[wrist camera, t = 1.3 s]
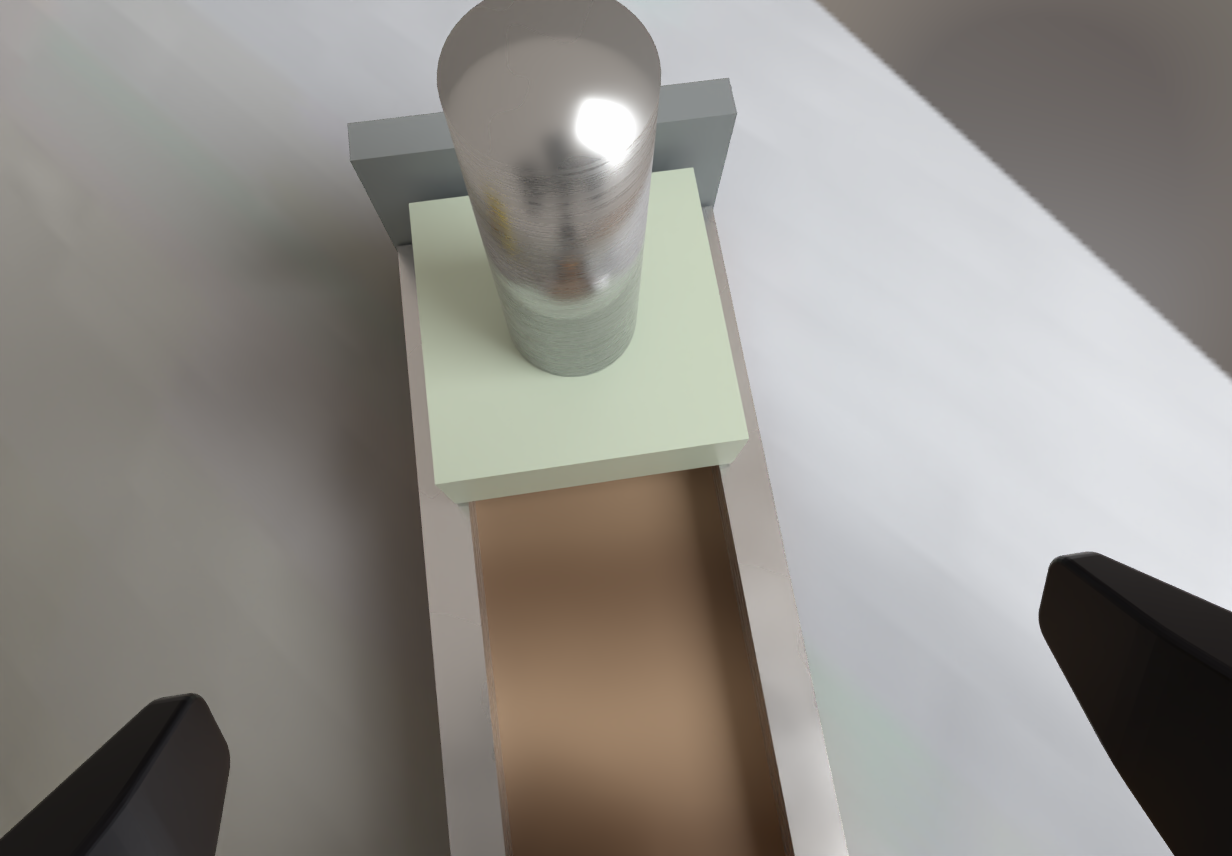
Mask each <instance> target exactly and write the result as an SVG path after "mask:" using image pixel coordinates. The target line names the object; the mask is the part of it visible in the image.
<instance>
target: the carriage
mask: <svg viewBox="0 0 1232 856" xmlns="http://www.w3.org/2000/svg"><path fill="white" fill-rule="evenodd" d="M660 86H661V67H660V60H659V56H658V52H657V49H656V46H655V44H654V42H653V40H652V38H651V36H650V34H649V33H648V31H647V29H646V28H645V26H644V25H643V24H642V23H641V22H640V20H639V19H638V18H637V17H636V16H635V15H634V14H633V13H632V12H631V11H630V10H628V9H627V8H626V7H625V6H623V5H622V4H620V3H619V2H618V1H616V0H484V1H482V2H481V3H479V4H478V5H476V6H475V7H474V8H472V9H471V10H470V11H469V12H468V13H467V14H466V15H464V16H463V17H462V18H461V20H460V21H459V22H458V23H457V24H456V25H455V27H454V28H453V30H452V31H451V33H450V34H449V36H448V37H447V39H446V41H445V44H444V46H443V48H442V51H441V54H440V58H439V61H438V69H437V87H438V92H439V98H440V101H441V105H442V108H443V111H444V115H445V118H446V121H447V125H448V128H449V131H450V135H451V138H452V142H453V145H454V148H455V152H456V155H457V158H458V162H459V165H460V168H461V172H462V175H463V178H464V182H465V185H466V189H467V192H468V195H469V196H462V197H454V198H446V199H438V200H430V201H422V202H414V203H409V212H410V223H411V234H412V244H413V255H414V266H415V276H416V287H417V298H418V308H419V319H420V330H421V340H422V351H423V362H424V372H425V383H426V393H427V404H428V415H429V425H430V436H431V447H432V457H433V468H434V479H435V485H436V486H437V487H438V488H439V489H440V490H441V491H442V492H443V493H444V494H445V495H446V496H447V497H448V498H449V499H451V500H452V501H453V502H454V503H455V504H458V503H465V502H472V501H478V500H485V499H492V498H499V497H505V496H512V495H519V494H526V493H532V492H539V491H546V490H553V489H559V488H566V487H573V486H580V485H586V484H593V483H600V482H607V481H613V480H620V479H627V478H634V477H641V476H647V475H654V474H661V473H668V472H674V471H681V470H688V469H695V468H701V467H708V466H715V465H722V464H728V463H732V462H733V461H734V460H735V458H736V457H737V455H738V454H739V452H740V451H741V450H742V448H743V447H744V445H745V444H746V442H747V441H748V440H749V435H748V430H747V425H746V421H745V416H744V411H743V406H742V401H741V396H740V392H739V387H738V382H737V377H736V372H735V367H734V362H733V358H732V353H731V348H730V343H729V338H728V333H727V329H726V324H725V319H724V314H723V309H722V304H721V300H720V295H719V290H718V285H717V280H716V275H715V270H714V266H713V261H712V256H711V251H710V246H709V241H708V237H707V232H706V227H705V222H704V217H703V212H702V208H701V203H700V198H699V193H698V188H697V183H696V178H695V174H694V169H693V167H692V168H684V169H676V170H668V171H660V172H652V164H653V155H654V145H655V135H656V125H657V115H658V106H659V96H660Z"/></svg>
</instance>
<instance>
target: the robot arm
mask: <svg viewBox="0 0 1232 856" xmlns="http://www.w3.org/2000/svg"><path fill="white" fill-rule="evenodd" d="M1039 625H1040V629H1041V632H1042V634H1043V636H1044V639H1045V640H1046V642H1047V644H1048V646H1049V648H1050V650H1051V652H1052V653H1053V655H1054V657H1055V659H1056V661H1057V663H1058V664H1059V666H1060V668H1061V670H1062V672H1063V674H1064V676H1065V677H1066V679H1067V681H1068V683H1069V685H1070V687H1071V688H1072V690H1073V692H1074V694H1075V696H1076V698H1077V700H1078V701H1079V703H1080V705H1081V707H1082V709H1083V711H1084V713H1085V714H1086V716H1087V718H1088V720H1089V722H1090V724H1091V725H1092V727H1093V729H1094V731H1095V733H1096V735H1097V737H1098V738H1099V740H1100V742H1101V744H1102V746H1103V747H1104V749H1105V751H1106V752H1107V754H1108V756H1109V758H1110V759H1111V761H1112V763H1113V765H1114V766H1115V768H1116V769H1117V771H1118V772H1119V774H1120V775H1121V777H1122V778H1123V780H1124V782H1125V783H1126V785H1127V786H1128V788H1129V789H1130V791H1131V792H1132V794H1133V795H1134V797H1135V798H1136V800H1137V801H1138V803H1139V804H1140V806H1141V807H1142V809H1143V810H1144V812H1145V813H1146V814H1147V816H1148V817H1149V819H1150V820H1151V822H1152V823H1153V825H1154V826H1155V828H1156V829H1157V831H1158V832H1159V834H1160V835H1161V837H1162V838H1163V840H1164V841H1165V843H1166V844H1167V846H1168V847H1169V849H1170V850H1171V852H1172V853H1173V855H1174V856H1232V612H1231V611H1229V610H1227V609H1224V608H1222V607H1220V606H1218V605H1215V604H1213V603H1211V602H1208V601H1206V600H1204V599H1202V598H1199V597H1197V596H1195V595H1193V594H1190V593H1188V592H1186V591H1183V590H1181V589H1179V588H1177V587H1174V586H1172V585H1170V584H1168V583H1165V582H1163V581H1161V580H1159V579H1156V578H1154V577H1152V576H1149V575H1147V574H1145V573H1143V572H1140V571H1138V570H1136V569H1134V568H1131V567H1129V566H1127V565H1124V564H1122V563H1120V562H1118V561H1115V560H1113V559H1111V558H1109V557H1106V556H1104V555H1102V554H1099V553H1096V552H1081V553H1075V554H1069V555H1062V556H1059V557H1056V558H1055V559H1054V560H1053V561H1052V562H1051V563H1050V566H1049V569H1048V573H1047V577H1046V582H1045V586H1044V591H1043V595H1042V599H1041V604H1040V608H1039ZM229 770H230V754H229V749H228V745H227V743H226V741H225V739H224V737H223V735H222V733H221V731H220V729H219V727H218V725H217V723H216V721H215V719H214V717H213V715H212V713H211V711H210V709H209V707H208V705H207V704H206V702H205V700H204V699H203V698H202V697H201V696H200V695H198V694H193V693H188V694H182V695H176V696H169V697H163V698H159V699H156V700H154V701H152V702H151V703H149V704H148V705H147V706H146V707H144V708H143V709H142V710H141V711H140V712H139V713H138V714H137V715H136V716H135V717H134V718H132V719H131V720H130V721H129V722H128V723H127V724H126V725H125V726H124V727H123V728H121V729H120V730H119V731H118V732H117V733H116V734H115V735H114V736H113V737H112V738H111V739H109V740H108V741H107V742H106V743H105V744H104V745H103V746H102V747H101V748H100V749H98V750H97V751H96V752H95V753H94V754H93V755H92V756H91V757H90V758H89V759H87V760H86V761H85V762H84V763H83V764H82V765H81V766H80V767H79V768H78V769H77V770H75V771H74V772H73V773H72V774H71V775H70V776H69V777H68V778H67V779H66V780H64V781H63V782H62V783H61V784H60V785H59V786H58V787H57V788H56V789H55V790H54V791H52V792H51V793H50V794H49V795H48V796H47V797H46V798H45V799H44V800H43V801H41V802H40V803H39V804H38V805H37V806H36V807H35V808H34V809H33V810H32V811H31V812H29V813H28V814H27V815H26V816H25V817H24V818H23V819H22V820H21V821H20V822H18V823H17V824H16V825H15V826H14V827H13V828H12V829H11V830H10V831H9V832H7V833H6V834H5V835H4V836H3V837H2V838H1V839H0V856H215V852H216V846H217V841H218V835H219V829H220V823H221V817H222V811H223V805H224V799H225V794H226V788H227V782H228V776H229Z"/></svg>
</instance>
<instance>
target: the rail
mask: <svg viewBox="0 0 1232 856" xmlns="http://www.w3.org/2000/svg"><path fill="white" fill-rule="evenodd" d="M736 115H737V111H736V107H735V103H734V98H733V94H732V89H731V85H730V81H729V78H723V79H715V80H707V81H698V82H690V83H682V84H673V85H665V86H660V96H659V106H658V115H657V125H656V135H655V145H654V155H653V164H652V172H660V171H668V170H676V169H684V168H692V167H693V169H694V174H695V178H696V183H697V188H698V193H699V198H700V203H701V208H702V212H703V217H704V222H705V227H706V232H707V237H708V241H709V246H710V251H711V256H712V261H713V266H714V270H715V275H716V280H717V285H718V290H719V295H720V300H721V304H722V309H723V314H724V319H725V324H726V329H727V333H728V338H729V343H730V348H731V353H732V358H733V362H734V367H735V372H736V377H737V382H738V387H739V392H740V396H741V401H742V406H743V411H744V416H745V421H746V425H747V430H748V435H749V440H748V441H747V442H746V444H745V445H744V447H743V448H742V450H741V451H740V452H739V454H738V455H737V457H736V458H735V460H734V461H733V462H732V463H728V464H722V465H715V466H708V467H701V468H695V469H688V470H681V471H674V472H668V473H661V474H654V475H647V476H641V477H634V478H627V479H620V480H613V481H607V482H600V483H593V484H586V485H580V486H573V487H566V488H559V489H553V490H546V491H539V492H532V493H526V494H519V495H512V496H505V497H499V498H492V499H485V500H478V501H472V502H465V503H458V504H455V503H454V502H453V501H452V500H451V499H449V498H448V497H447V496H446V495H445V494H444V493H443V492H442V491H441V490H440V489H439V488H438V487H437V486H436V485H435V479H434V468H433V457H432V447H431V436H430V425H429V415H428V404H427V393H426V383H425V372H424V362H423V351H422V340H421V330H420V319H419V308H418V298H417V287H416V276H415V266H414V255H413V244H412V234H411V223H410V212H409V203H414V202H422V201H430V200H438V199H446V198H454V197H462V196H469V195H468V192H467V189H466V185H465V182H464V178H463V175H462V172H461V168H460V165H459V162H458V158H457V155H456V152H455V148H454V145H453V142H452V138H451V135H450V131H449V128H448V125H447V121H446V118H445V115H444V112H439V113H431V114H423V115H414V116H406V117H398V118H389V119H381V120H372V121H364V122H356V123H348V137H349V151H350V161H351V163H352V165H353V167H354V169H355V171H356V173H357V175H358V177H359V179H360V181H361V182H362V184H363V186H364V188H365V190H366V192H367V194H368V196H369V198H370V200H371V202H372V204H373V206H374V207H375V209H376V211H377V213H378V215H379V217H380V219H381V221H382V223H383V225H384V227H385V229H386V231H387V233H388V234H389V236H390V238H391V240H392V242H393V244H394V246H395V248H396V250H397V252H398V261H399V273H400V284H401V295H402V307H403V318H404V329H405V341H406V352H407V364H408V375H409V386H410V398H411V409H412V420H413V432H414V443H415V454H416V466H417V477H418V488H419V500H420V511H421V523H422V534H423V545H424V557H425V568H426V579H427V591H428V602H429V613H430V625H431V636H432V647H433V659H434V670H435V682H436V693H437V704H438V716H439V727H440V738H441V750H442V761H443V772H444V784H445V795H446V806H447V818H448V829H449V841H450V852H451V856H849V854H848V849H847V845H846V840H845V835H844V830H843V826H842V821H841V816H840V811H839V807H838V802H837V797H836V792H835V788H834V783H833V778H832V773H831V769H830V764H829V759H828V754H827V750H826V745H825V740H824V736H823V731H822V726H821V721H820V717H819V712H818V707H817V702H816V698H815V693H814V688H813V683H812V679H811V674H810V669H809V664H808V660H807V655H806V650H805V645H804V641H803V636H802V631H801V626H800V622H799V617H798V612H797V607H796V603H795V598H794V593H793V588H792V584H791V579H790V574H789V569H788V565H787V560H786V555H785V550H784V546H783V541H782V536H781V531H780V527H779V522H778V517H777V512H776V508H775V503H774V498H773V493H772V489H771V484H770V479H769V474H768V470H767V465H766V460H765V455H764V451H763V446H762V441H761V436H760V432H759V427H758V422H757V417H756V413H755V408H754V403H753V398H752V394H751V389H750V384H749V380H748V375H747V370H746V365H745V361H744V356H743V351H742V346H741V342H740V337H739V332H738V327H737V323H736V318H735V313H734V308H733V304H732V299H731V294H730V289H729V285H728V280H727V275H726V270H725V266H724V261H723V256H722V251H721V247H720V242H719V237H718V232H717V228H716V223H715V218H714V213H713V207H714V203H715V199H716V195H717V191H718V187H719V183H720V179H721V175H722V171H723V167H724V163H725V159H726V155H727V151H728V147H729V143H730V139H731V135H732V131H733V127H734V123H735V119H736Z"/></svg>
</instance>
